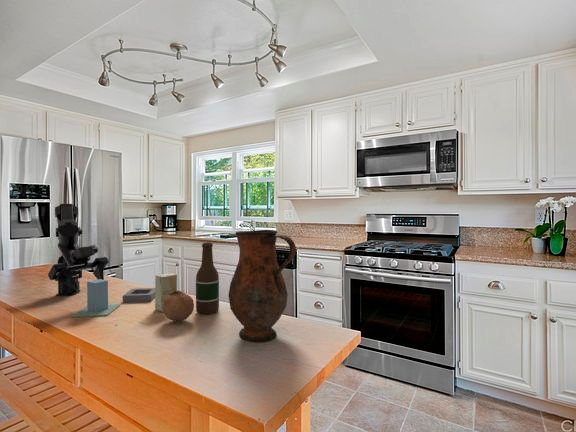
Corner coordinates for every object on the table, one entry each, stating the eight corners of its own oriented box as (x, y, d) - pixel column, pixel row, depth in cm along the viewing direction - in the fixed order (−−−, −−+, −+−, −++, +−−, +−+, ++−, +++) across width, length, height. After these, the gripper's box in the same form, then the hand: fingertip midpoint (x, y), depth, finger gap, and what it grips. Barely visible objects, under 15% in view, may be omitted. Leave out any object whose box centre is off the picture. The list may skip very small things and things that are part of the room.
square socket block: (122, 302, 121) (122, 295, 121) (132, 294, 132) (132, 288, 132) (151, 301, 123) (151, 294, 123) (158, 293, 133) (158, 287, 133)
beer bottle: (191, 312, 110) (190, 243, 109) (206, 306, 117) (206, 241, 116) (208, 316, 106) (208, 244, 105) (223, 310, 113) (223, 242, 112)
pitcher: (255, 320, 103) (255, 227, 102) (310, 336, 90) (311, 230, 89) (215, 337, 90) (214, 230, 89) (273, 359, 77) (274, 235, 76)
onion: (160, 328, 95) (160, 295, 95) (164, 318, 105) (163, 287, 104) (193, 325, 98) (193, 293, 98) (194, 315, 107) (194, 286, 107)
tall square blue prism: (87, 310, 110) (87, 281, 110) (100, 306, 114) (99, 279, 114) (95, 312, 108) (95, 283, 108) (108, 308, 112) (107, 280, 112)
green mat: (72, 317, 105) (72, 315, 105) (88, 306, 116) (88, 305, 116) (107, 315, 106) (107, 314, 106) (120, 305, 117) (120, 304, 117)
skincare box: (161, 312, 110) (161, 277, 110) (154, 309, 113) (154, 275, 113) (177, 307, 115) (177, 274, 115) (170, 305, 118) (170, 272, 118)
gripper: (51, 240, 106) (71, 277, 102) (105, 235, 123) (125, 267, 118) (39, 261, 110) (58, 298, 106) (93, 254, 127) (111, 285, 122)
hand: (90, 286), depth 113 cm, fingers open, 9 cm apart
